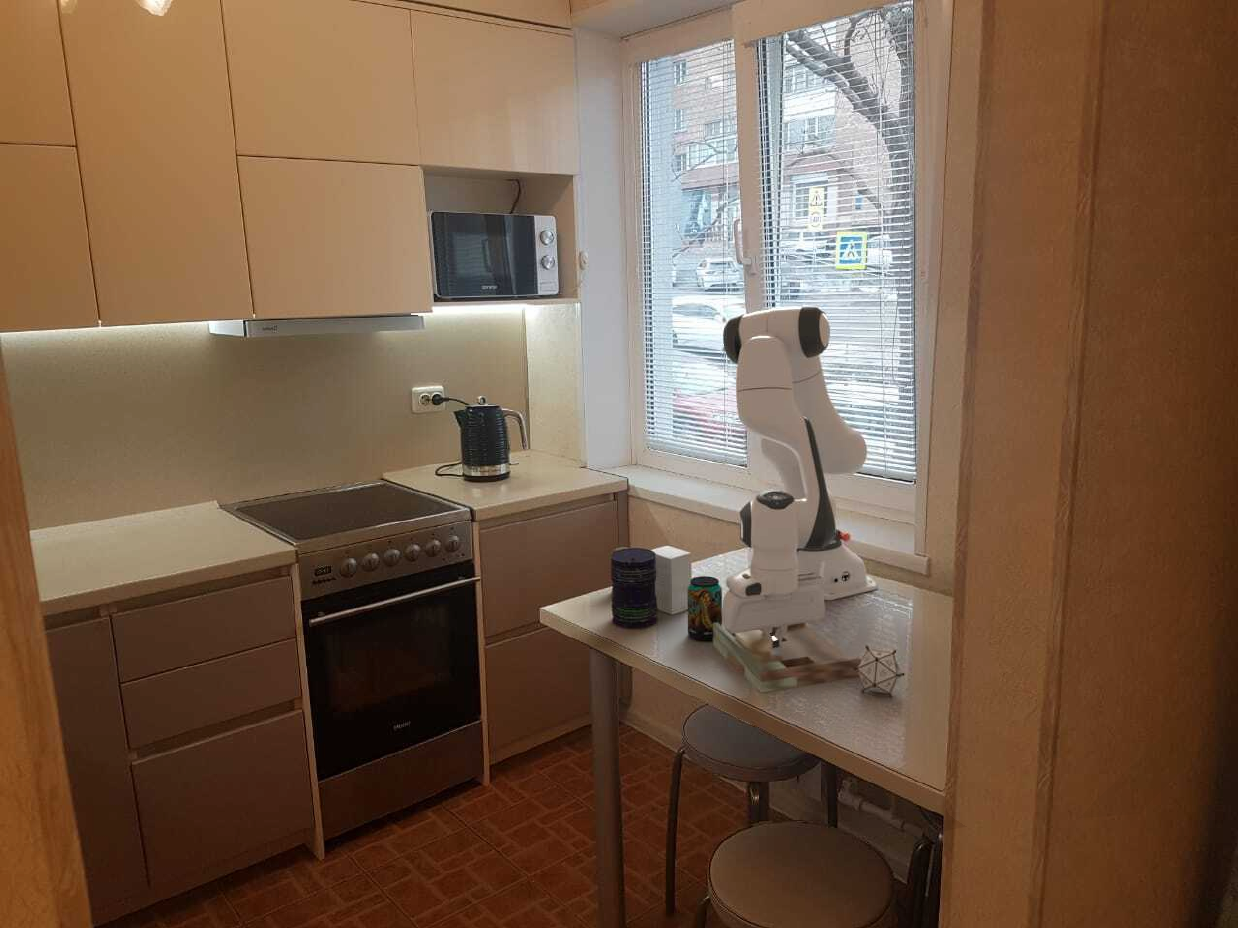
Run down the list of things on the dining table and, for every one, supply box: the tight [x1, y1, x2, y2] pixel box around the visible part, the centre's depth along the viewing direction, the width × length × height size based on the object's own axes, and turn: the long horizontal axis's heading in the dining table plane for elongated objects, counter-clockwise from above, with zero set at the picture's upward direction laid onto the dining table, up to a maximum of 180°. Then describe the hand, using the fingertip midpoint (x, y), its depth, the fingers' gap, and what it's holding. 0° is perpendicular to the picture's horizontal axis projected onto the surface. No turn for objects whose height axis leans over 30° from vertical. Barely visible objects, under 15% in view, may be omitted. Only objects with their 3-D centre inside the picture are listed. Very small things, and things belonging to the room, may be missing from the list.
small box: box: [650, 545, 693, 616], centre depth 205 cm, size 8×6×13 cm
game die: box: [852, 644, 906, 699], centre depth 162 cm, size 9×8×10 cm
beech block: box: [735, 630, 771, 661], centre depth 174 cm, size 5×5×4 cm
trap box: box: [712, 622, 862, 694], centre depth 177 cm, size 20×22×5 cm
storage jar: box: [610, 547, 658, 630], centre depth 197 cm, size 10×10×15 cm
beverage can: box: [687, 575, 723, 642], centre depth 189 cm, size 7×7×12 cm
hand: (773, 647), depth 176 cm, fingers closed
